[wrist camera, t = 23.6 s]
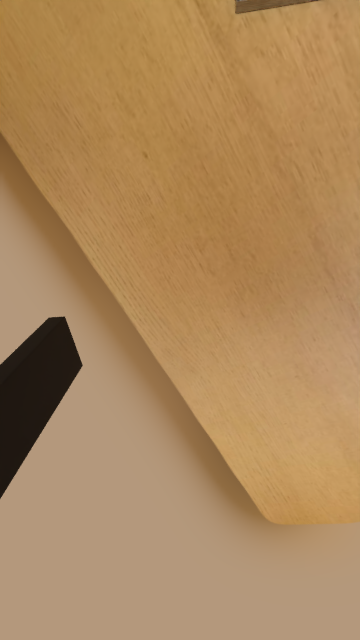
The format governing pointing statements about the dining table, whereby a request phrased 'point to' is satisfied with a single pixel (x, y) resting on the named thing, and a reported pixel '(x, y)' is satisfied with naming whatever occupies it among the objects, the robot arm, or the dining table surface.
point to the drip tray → (263, 4)
